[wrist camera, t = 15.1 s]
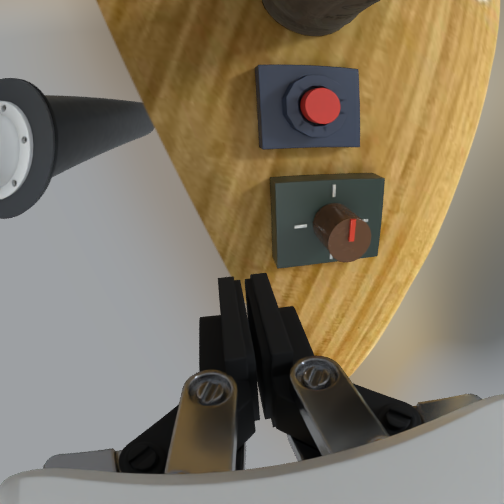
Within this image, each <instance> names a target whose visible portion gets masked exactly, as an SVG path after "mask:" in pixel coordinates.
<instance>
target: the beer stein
mask: <svg viewBox="0 0 504 504" xmlns="http://www.w3.org/2000/svg"><path fill="white" fill-rule="evenodd" d="M378 1H380V0H262V2H263V4H264V7H265V9H266V10H267V11H268V13H269V14H270V15H271V16H272V17H273V18H274V19H275V20H276V21H277V22H278V23H280V24H281V25H283V26H284V27H286V28H287V29H289V30H292V31H294V32H296V33H299V34H303V35H309V36H323V35H327V34H331V33H334V32H336V31H338V30H339V29H341V28H342V27H343V26H344V25H346V24H348V23H350V22H351V21H352V20H353V19H354V18H355V17H356V16H357V15H358V14H359V13H360V12H361V11H363V10H365V9H366V8H368V7H369V6H371V5H372V4H374V3H376V2H378Z"/></svg>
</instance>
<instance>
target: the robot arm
mask: <svg viewBox="0 0 504 504" xmlns="http://www.w3.org/2000/svg"><path fill="white" fill-rule="evenodd" d="M32 158H33V135H32V131H31V127H30V124H29V122H28V119H27V117H26V116H25V114H24V113H23V111H22V110H21V109H20V108H19V107H18V106H17V105H15V104H13V103H11V102H7V101H0V199H4V198H6V197H8V196H10V195H12V194H13V193H15V192H16V191H17V190H18V189H19V188H20V187H21V185H22V184H23V183H24V181H25V179H26V177H27V175H28V173H29V170H30V167H31V164H32ZM218 285H219V300H220V311H221V315H218V316H207V317H200V322H199V323H200V324H199V326H200V327H199V367H200V372H198V373H196V374H194V375H192V376H191V377H190V378H189V379H188V380H187V381H186V382H185V384H184V386H183V389H182V393H181V398H180V402H179V405H178V406H176V407H175V408H174V409H173V410H171V411H170V412H169V413H168V414H166V415H165V416H164V417H163V418H161V419H160V420H159V421H158V422H156V423H155V424H154V425H152V426H151V427H150V428H149V429H147V430H146V431H145V432H143V433H142V434H141V435H139V436H138V437H137V438H136V439H134V440H133V441H132V442H130V443H129V444H128V445H127V446H126V447H125V448H124V449H123V450H120V451H115V450H114V449H105V450H98V451H89V452H80V453H70V454H59V455H55V456H52V457H51V458H49V460H47V461H46V463H45V465H44V467H43V469H36V470H30V471H26V472H21V473H18V474H15V475H13V476H10V477H9V478H7V479H6V480H4V481H3V482H2V484H1V485H0V504H504V394H503V395H497V396H493V397H488V398H485V399H481V398H480V397H479V396H477V395H474V394H464V395H459V396H454V397H449V398H444V399H437V400H431V401H425V402H418V404H417V406H412V405H410V404H407V403H405V402H403V401H400V400H397V399H394V398H391V397H388V396H386V395H383V394H380V393H377V392H374V391H372V390H369V389H366V388H364V387H361V386H358V385H355V384H353V383H352V382H351V380H350V379H349V378H348V376H347V375H346V373H345V372H344V371H343V369H342V368H341V366H340V365H339V364H338V363H337V362H336V361H334V360H332V359H330V358H328V357H324V356H314V354H313V351H312V349H311V346H310V344H309V341H308V339H307V337H306V334H305V332H304V329H303V327H302V325H301V322H300V320H299V317H298V315H297V313H296V310H295V308H294V307H293V306H290V307H282V308H278V305H277V302H276V299H275V297H274V294H273V291H272V288H271V285H270V282H269V279H268V276H267V274H266V273H260V274H251V275H250V279H245V290H246V302H247V313H246V308H245V303H244V298H243V292H242V287H241V282H240V280H234V277H225V278H218ZM247 315H248V318H247ZM257 382H258V387H259V392H260V397H261V402H262V407H263V412H264V417H265V419H270V418H271V420H272V424H273V427H276V428H277V429H278V430H280V431H282V432H284V433H286V434H287V437H288V441H289V443H290V445H291V447H292V449H293V452H294V454H295V456H296V458H297V460H298V462H293V463H287V464H282V465H276V466H269V467H262V468H256V469H247V470H245V460H246V443H245V442H246V441H247V440H248V439H249V438H250V437H251V436H252V435H253V434H254V433H255V422H254V421H256V420H260V415H259V402H258V388H257Z"/></svg>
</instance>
